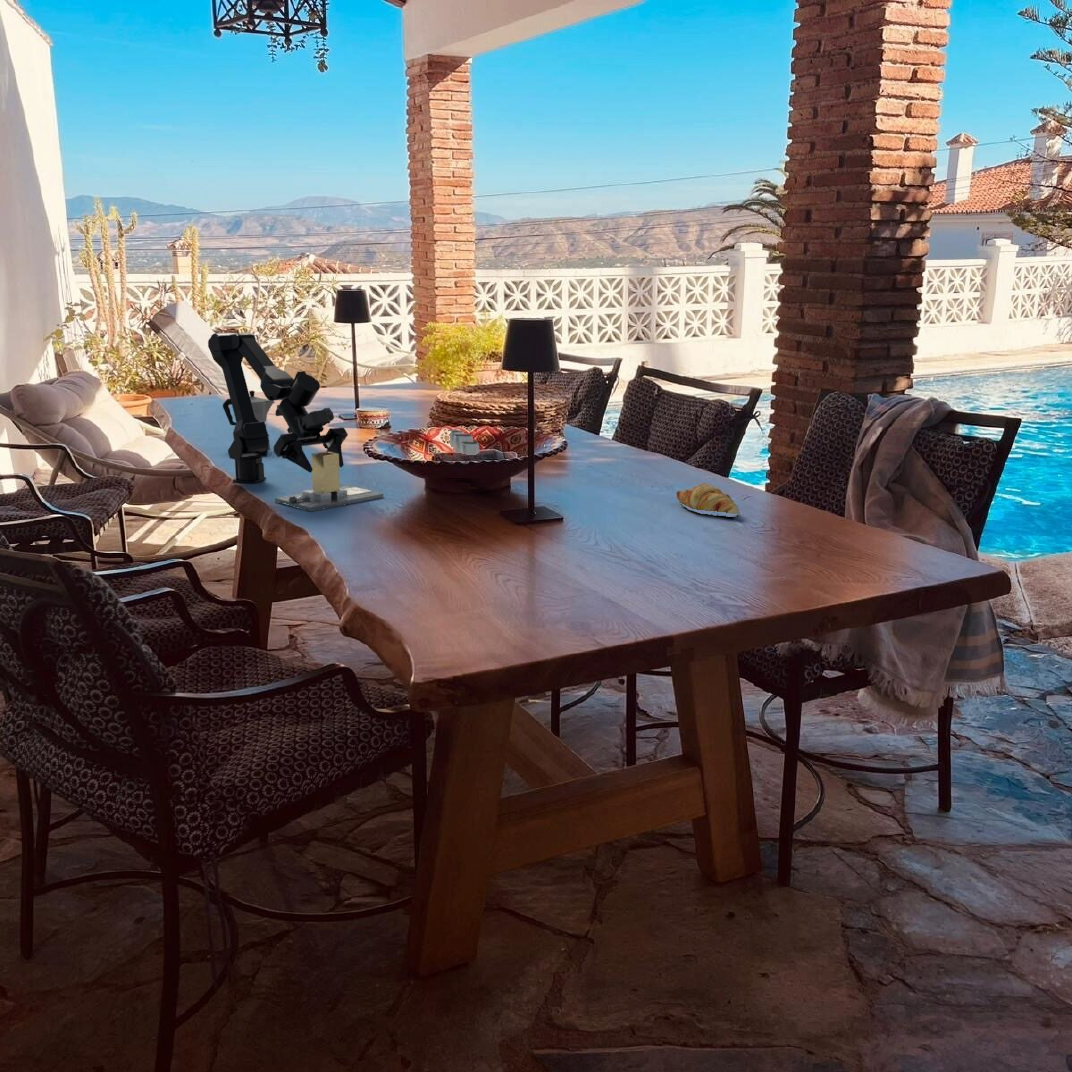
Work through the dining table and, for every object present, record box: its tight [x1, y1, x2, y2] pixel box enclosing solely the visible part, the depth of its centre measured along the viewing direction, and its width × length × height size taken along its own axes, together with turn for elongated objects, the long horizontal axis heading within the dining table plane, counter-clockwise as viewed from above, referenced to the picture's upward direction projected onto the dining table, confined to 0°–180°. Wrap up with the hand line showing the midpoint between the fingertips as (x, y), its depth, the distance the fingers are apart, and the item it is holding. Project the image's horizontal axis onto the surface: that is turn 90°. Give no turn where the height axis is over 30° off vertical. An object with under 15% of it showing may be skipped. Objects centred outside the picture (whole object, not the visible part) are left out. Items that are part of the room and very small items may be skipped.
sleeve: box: [311, 451, 341, 493], centre depth 251 cm, size 5×5×9 cm
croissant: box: [676, 482, 740, 514], centre depth 248 cm, size 21×10×8 cm, turn 34°
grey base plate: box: [274, 484, 384, 512], centre depth 253 cm, size 14×23×7 cm, turn 138°
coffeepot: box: [222, 390, 276, 450], centre depth 319 cm, size 15×9×18 cm, turn 103°
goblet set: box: [445, 428, 480, 455], centre depth 279 cm, size 28×6×13 cm, turn 22°
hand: (327, 468), depth 251 cm, fingers open, 9 cm apart
